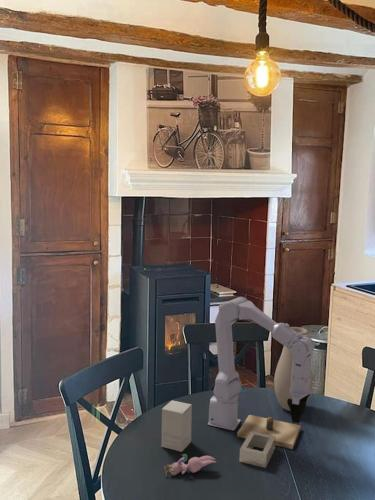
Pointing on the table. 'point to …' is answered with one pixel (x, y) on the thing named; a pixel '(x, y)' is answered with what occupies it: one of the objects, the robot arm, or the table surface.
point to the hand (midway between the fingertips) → (298, 417)
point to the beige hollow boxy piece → (257, 456)
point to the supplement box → (176, 425)
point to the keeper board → (271, 430)
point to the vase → (286, 374)
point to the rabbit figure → (189, 464)
